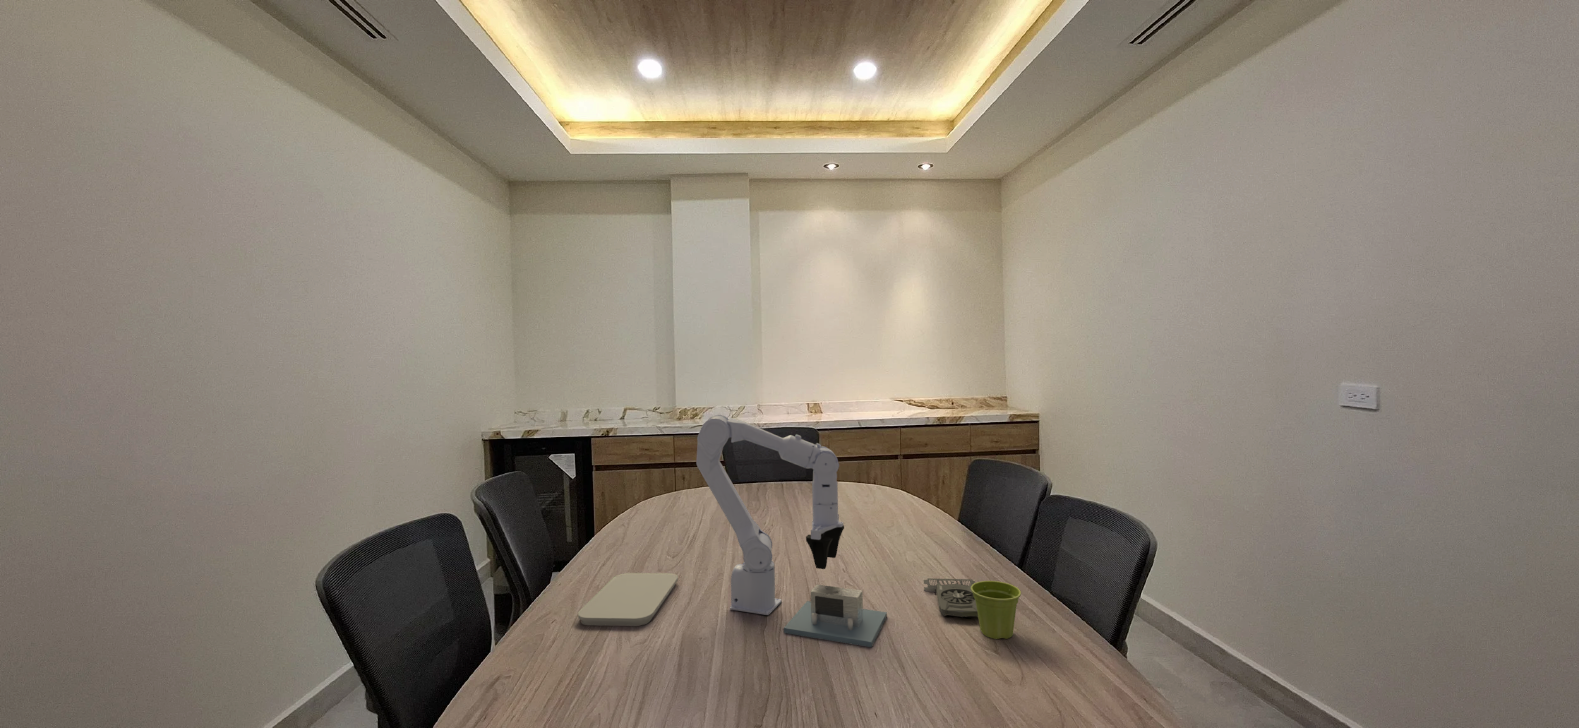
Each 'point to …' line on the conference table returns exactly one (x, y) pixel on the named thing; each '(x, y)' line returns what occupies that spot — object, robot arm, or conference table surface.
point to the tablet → (628, 599)
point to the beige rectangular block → (837, 605)
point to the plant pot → (996, 607)
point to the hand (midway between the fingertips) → (826, 562)
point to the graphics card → (954, 597)
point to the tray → (837, 627)
